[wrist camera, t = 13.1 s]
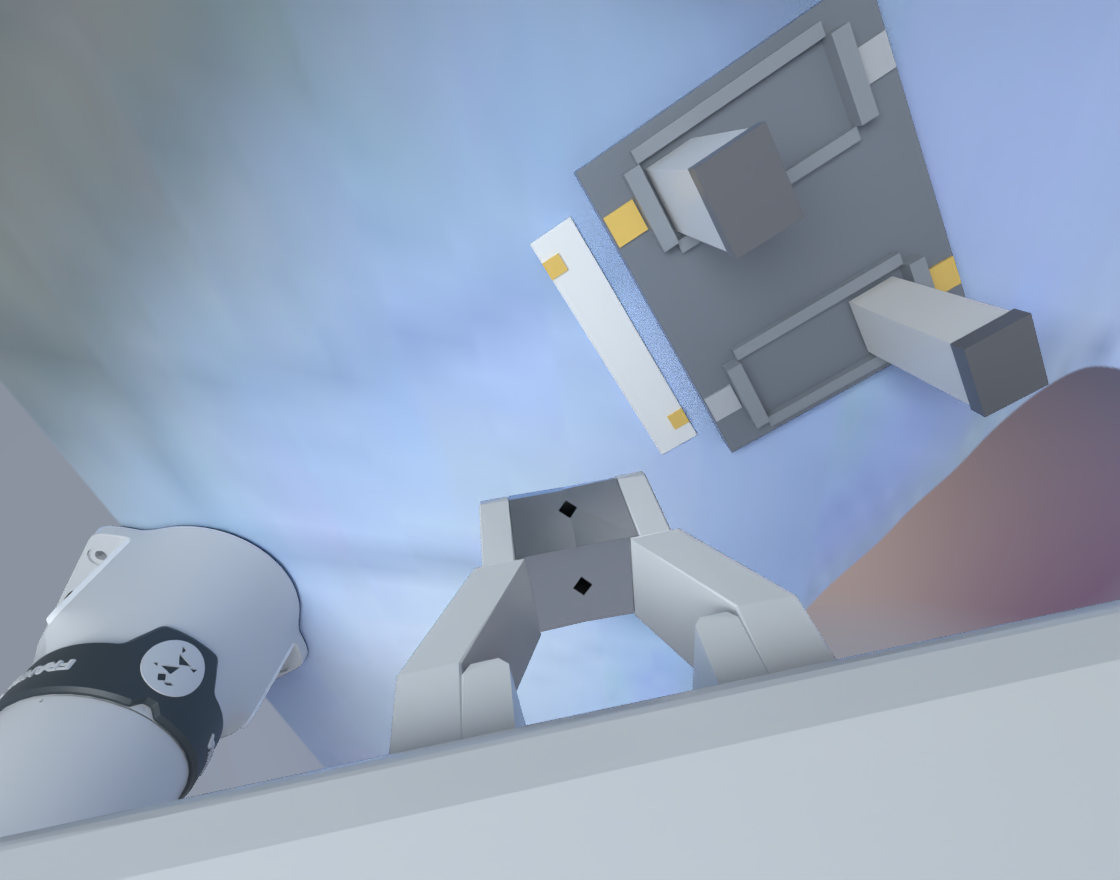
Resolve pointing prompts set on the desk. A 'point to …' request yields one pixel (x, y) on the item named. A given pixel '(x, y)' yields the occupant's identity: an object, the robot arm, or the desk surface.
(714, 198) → the toggle front
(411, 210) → the desk surface
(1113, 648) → the robot arm
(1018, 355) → the toggle rear
